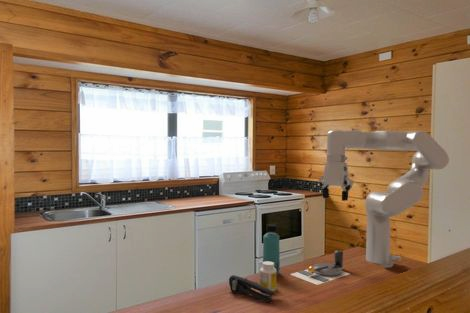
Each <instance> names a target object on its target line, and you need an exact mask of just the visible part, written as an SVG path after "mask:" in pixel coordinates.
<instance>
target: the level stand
mask: <svg viewBox="0 0 470 313" xmlns="http://www.w3.org/2000/svg"><path fill="white" fill-rule="evenodd" d="M289 275H290V276H293V277H296V278H298V279H301V280H303V281H306V282H308V283H311V284H314V285H316V286H318V285H321V284H325V283H327V282H331V281H334V280H336V279H339V278H342V277H346V276H348V275H351V273H350V272H346V271H344V270H342V274H341V275H338V276H324V275H320V274H317V273H315V272H314V273H313V274H311V273H309V272H308V268H307V269H304V270H299V271H297V272H293V273H290V274H289Z"/></svg>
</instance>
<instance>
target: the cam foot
mask: <svg viewBox="0 0 470 313" xmlns="http://www.w3.org/2000/svg"><path fill="white" fill-rule="evenodd" d="M343 265H344V251H343V250H341V249H340V250H338V249H337V250H334V262H333V263H329V262H315V263H313V265H312V266H311V265H310V266H309V267H308V268H307V269H308V272H309V273H311V274H313V273H314V272H315V273H317V274H320V275H324V276H338V275H341V274H342V271H343V267H344V266H343Z"/></svg>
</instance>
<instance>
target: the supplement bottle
mask: <svg viewBox="0 0 470 313" xmlns="http://www.w3.org/2000/svg"><path fill="white" fill-rule="evenodd" d="M259 285H261V286H263V287H265V288H267V289H269V290H271V291H273V292H274V295H276V294H277V293H276V291H277V275H276V269H275V268H274V263H273V262H270V261H265V262H263V261H262V265H261V267H260V269H259ZM259 293H261V294H263V295H265V296H267V297H272V296H271V295H268V294H266V293H263V292H261V291H259Z"/></svg>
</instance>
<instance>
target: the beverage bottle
mask: <svg viewBox="0 0 470 313" xmlns="http://www.w3.org/2000/svg"><path fill="white" fill-rule="evenodd" d="M265 227H266V229H265V231H267V232H266V233H265V234H264V235H263V241H262V242H263V246H262V263H263V262H265V261H270V262H273V263H274V268H275V269H276V276H279V274H280V268H281V267H280V260H281V259H280V235H279V234H278V233H276V232H277V231H278V226H277V224H270V223H269V224H266V226H265Z"/></svg>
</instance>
